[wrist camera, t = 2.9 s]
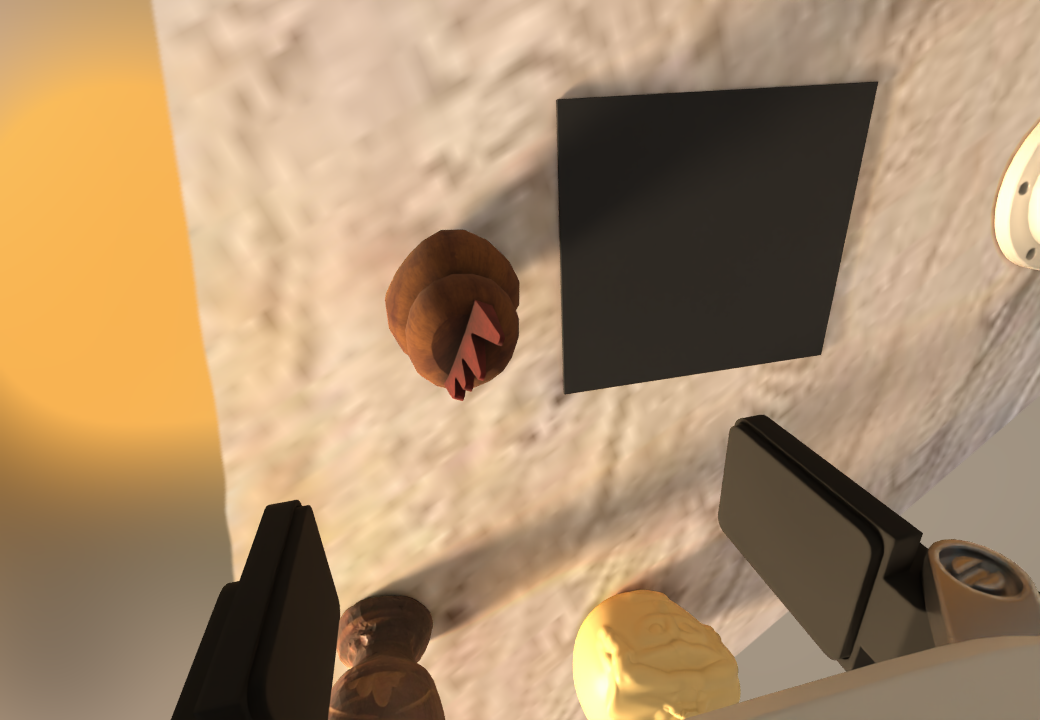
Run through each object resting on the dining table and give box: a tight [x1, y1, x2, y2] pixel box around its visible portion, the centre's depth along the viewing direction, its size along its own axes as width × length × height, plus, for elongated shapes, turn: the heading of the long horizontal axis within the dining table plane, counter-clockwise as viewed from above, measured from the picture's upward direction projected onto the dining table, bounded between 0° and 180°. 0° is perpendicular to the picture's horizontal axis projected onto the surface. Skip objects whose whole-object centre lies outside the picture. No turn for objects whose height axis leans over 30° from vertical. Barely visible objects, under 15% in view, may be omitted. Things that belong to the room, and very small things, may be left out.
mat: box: [556, 82, 878, 394], centre depth 32 cm, size 20×18×1 cm
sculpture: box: [573, 590, 740, 720], centre depth 41 cm, size 11×12×11 cm
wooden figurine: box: [385, 230, 519, 401], centre depth 23 cm, size 7×6×15 cm
